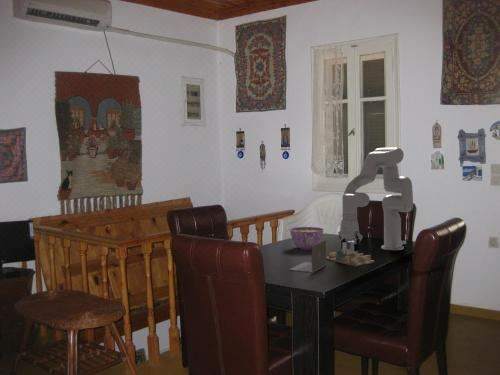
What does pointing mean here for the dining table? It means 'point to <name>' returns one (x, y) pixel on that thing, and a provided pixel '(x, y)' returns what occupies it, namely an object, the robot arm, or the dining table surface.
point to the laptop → (314, 259)
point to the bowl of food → (306, 237)
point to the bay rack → (350, 258)
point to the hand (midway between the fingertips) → (350, 249)
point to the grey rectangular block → (349, 248)
